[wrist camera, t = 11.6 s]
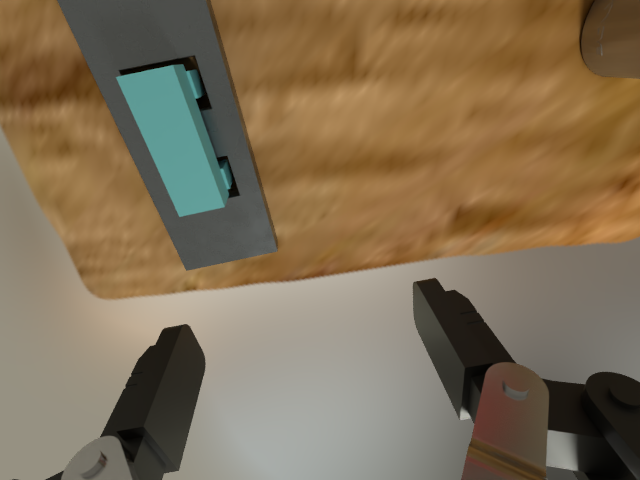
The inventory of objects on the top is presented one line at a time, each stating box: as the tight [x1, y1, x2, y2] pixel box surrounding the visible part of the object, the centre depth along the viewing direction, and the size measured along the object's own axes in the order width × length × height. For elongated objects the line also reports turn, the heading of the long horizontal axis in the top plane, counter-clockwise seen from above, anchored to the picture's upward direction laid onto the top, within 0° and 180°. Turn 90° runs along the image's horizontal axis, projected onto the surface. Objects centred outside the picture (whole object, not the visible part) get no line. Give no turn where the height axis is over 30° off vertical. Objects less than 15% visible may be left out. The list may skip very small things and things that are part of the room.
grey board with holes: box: [57, 0, 278, 271], centre depth 29 cm, size 10×26×2 cm, turn 10°
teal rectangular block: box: [116, 64, 233, 217], centre depth 28 cm, size 4×11×6 cm, turn 10°
